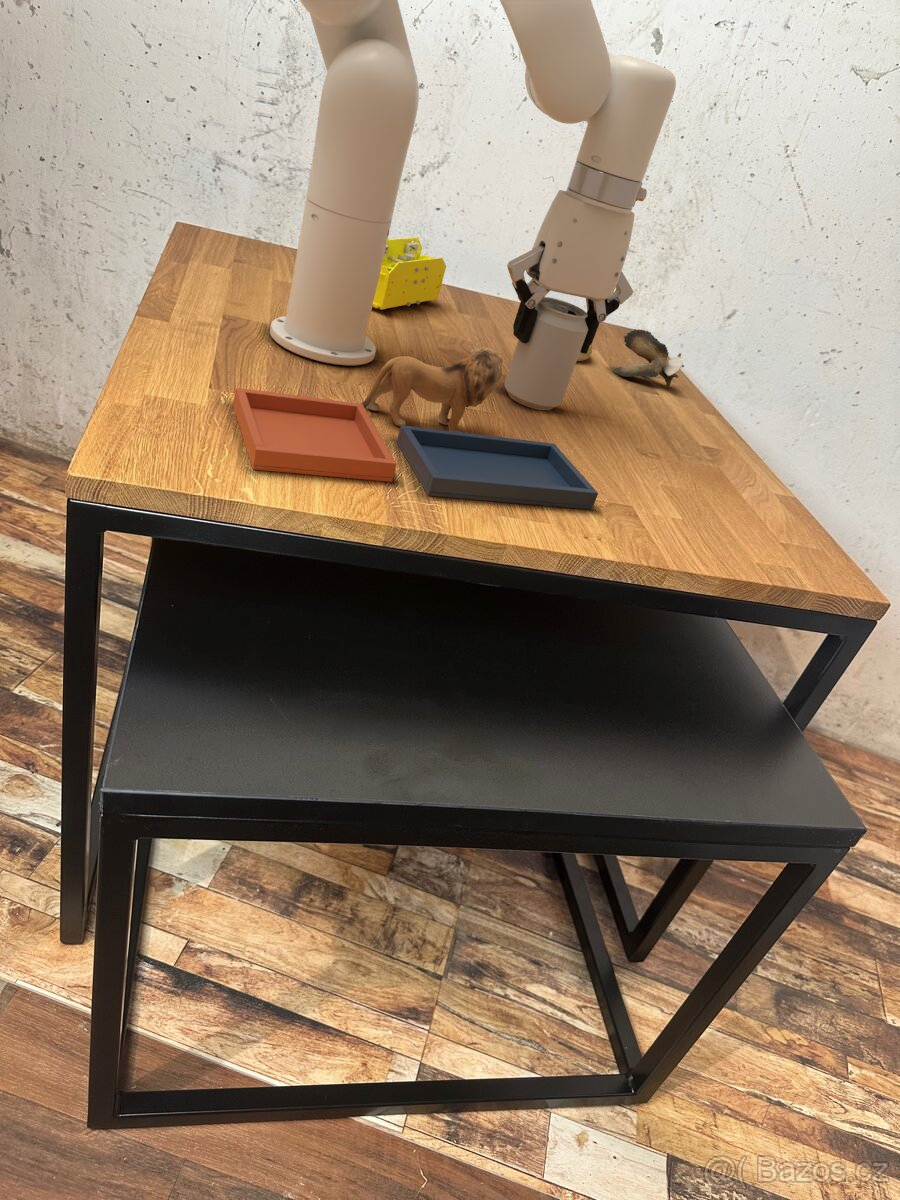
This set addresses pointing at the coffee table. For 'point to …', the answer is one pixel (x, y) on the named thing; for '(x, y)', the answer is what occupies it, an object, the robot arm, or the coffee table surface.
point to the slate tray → (494, 469)
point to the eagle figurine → (650, 357)
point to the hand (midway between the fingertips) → (550, 343)
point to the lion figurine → (438, 384)
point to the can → (547, 355)
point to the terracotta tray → (311, 436)
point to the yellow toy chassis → (407, 275)
